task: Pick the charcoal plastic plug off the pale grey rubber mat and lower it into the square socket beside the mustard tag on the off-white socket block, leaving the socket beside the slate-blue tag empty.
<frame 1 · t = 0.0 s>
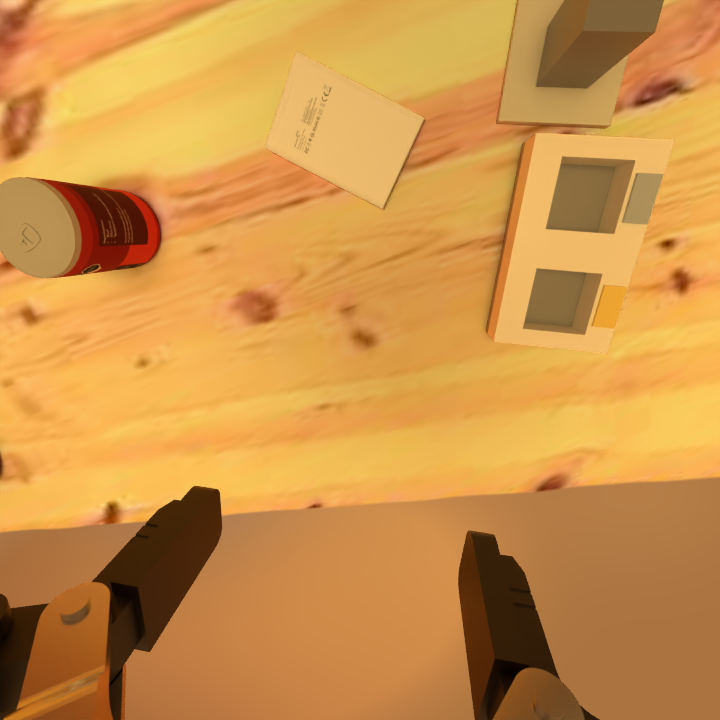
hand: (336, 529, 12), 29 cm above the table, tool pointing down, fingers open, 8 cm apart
external hard drive: (344, 137, 35), on the table
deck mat: (563, 62, 30), on the table
canned food: (130, 230, 40), on the table
plug: (567, 57, 29), point 1 cm above the table, touching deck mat
socket block: (557, 249, 35), on the table
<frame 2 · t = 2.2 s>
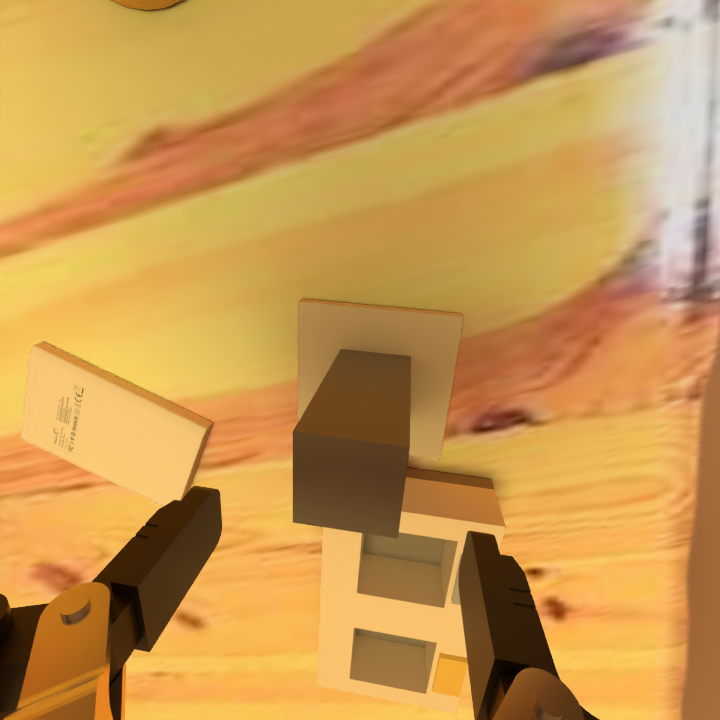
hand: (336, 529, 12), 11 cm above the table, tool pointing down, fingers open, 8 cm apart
external hard drive: (125, 423, 27), on the table
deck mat: (374, 379, 22), on the table
plug: (372, 384, 21), point 1 cm above the table, touching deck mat
socket block: (399, 564, 27), on the table
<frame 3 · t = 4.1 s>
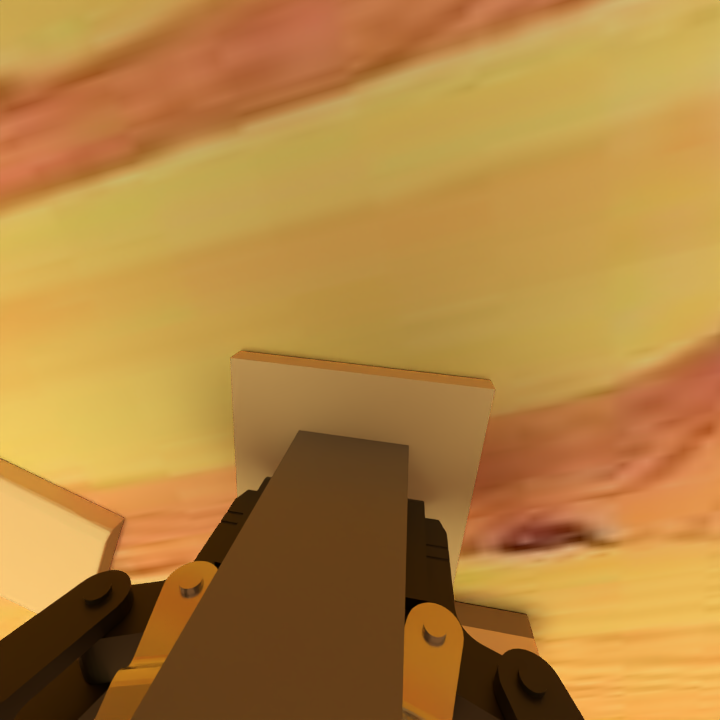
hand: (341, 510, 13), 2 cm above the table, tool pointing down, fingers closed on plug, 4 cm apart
external hard drive: (12, 508, 19), on the table
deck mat: (352, 470, 15), on the table
plug: (349, 483, 14), point 1 cm above the table, touching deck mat, gripper
socket block: (391, 711, 19), on the table
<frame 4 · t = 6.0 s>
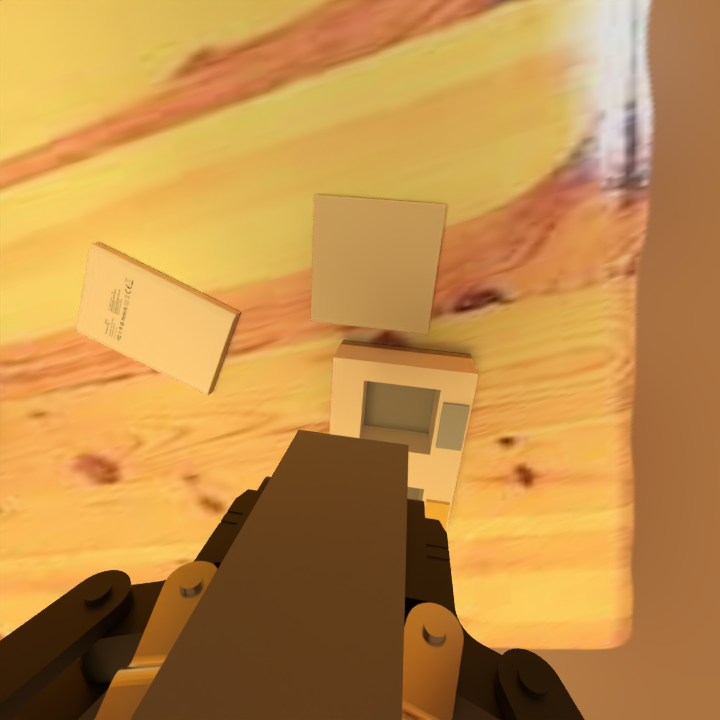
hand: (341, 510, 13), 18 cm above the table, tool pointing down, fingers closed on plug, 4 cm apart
external hard drive: (164, 319, 32), on the table
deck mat: (374, 266, 27), on the table
plug: (349, 483, 14), point 17 cm above the table, touching gripper
socket block: (394, 438, 32), on the table
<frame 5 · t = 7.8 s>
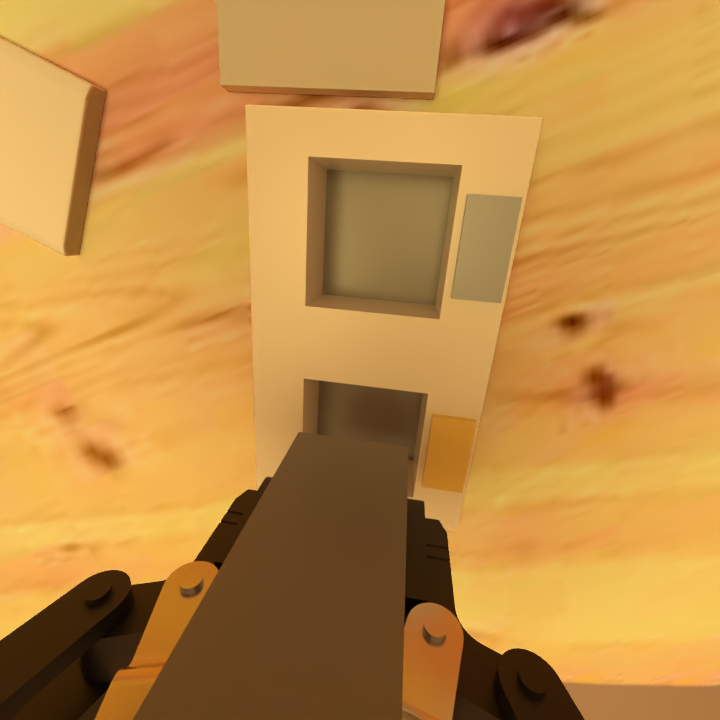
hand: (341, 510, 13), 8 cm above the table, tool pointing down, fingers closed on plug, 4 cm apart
plug: (349, 485, 14), point 7 cm above the table, touching gripper
socket block: (376, 326, 19), on the table
when the fingers open (4 cm above the table, at t = 9.3 s): plug drops 2 cm, resting on socket block.
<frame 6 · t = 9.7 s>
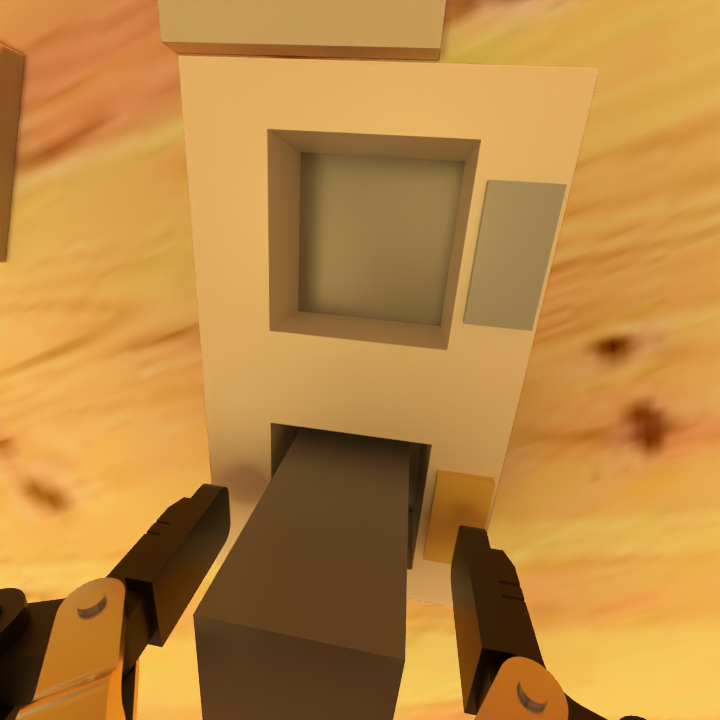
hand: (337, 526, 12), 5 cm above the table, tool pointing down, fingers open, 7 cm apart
plug: (357, 452, 16), point 1 cm above the table, touching socket block
socket block: (367, 350, 15), on the table
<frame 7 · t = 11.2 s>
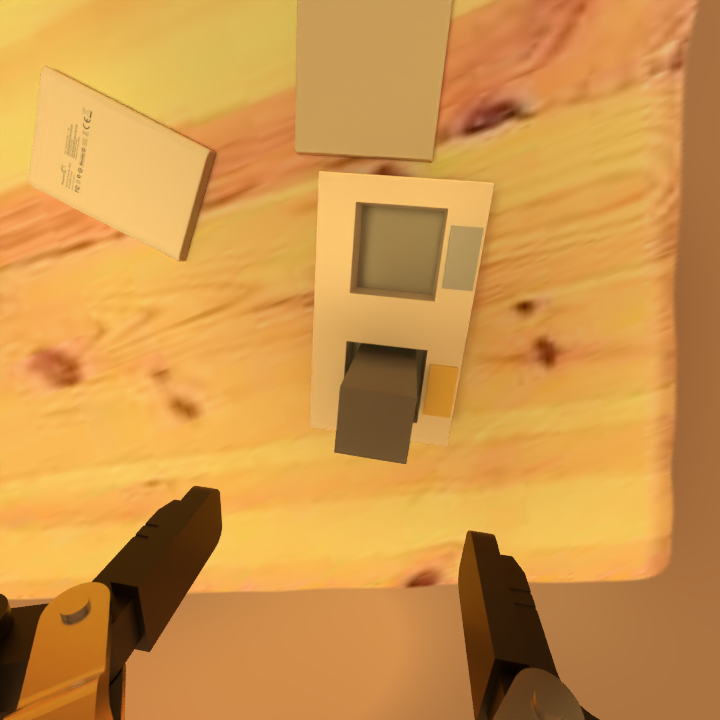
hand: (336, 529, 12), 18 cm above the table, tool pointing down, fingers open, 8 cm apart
external hard drive: (131, 172, 28), on the table
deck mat: (369, 77, 23), on the table
plug: (386, 368, 28), point 1 cm above the table, touching socket block
socket block: (392, 310, 28), on the table
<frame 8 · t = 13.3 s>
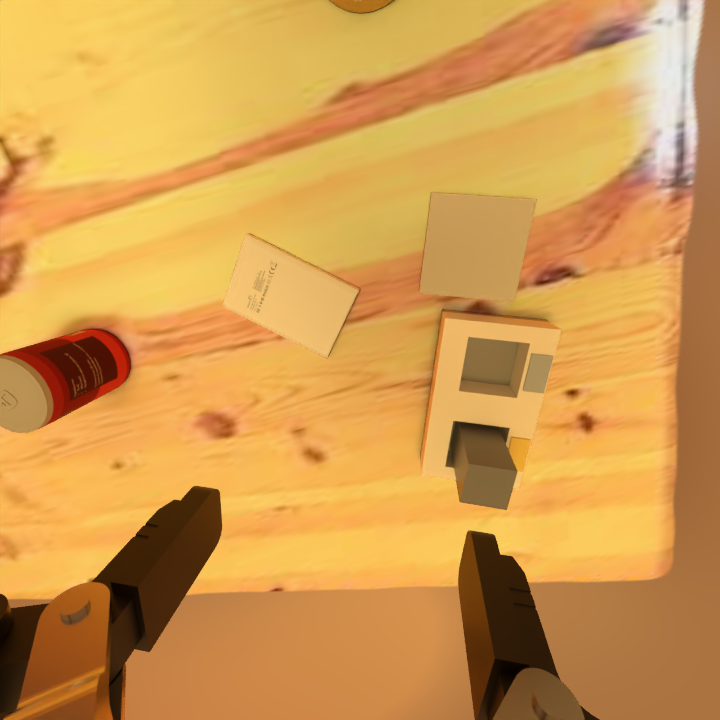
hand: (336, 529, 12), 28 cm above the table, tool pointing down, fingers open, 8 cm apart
external hard drive: (292, 296, 39), on the table
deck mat: (473, 248, 35), on the table
canned food: (104, 358, 44), on the table
plug: (472, 432, 40), point 1 cm above the table, touching socket block
socket block: (477, 392, 39), on the table
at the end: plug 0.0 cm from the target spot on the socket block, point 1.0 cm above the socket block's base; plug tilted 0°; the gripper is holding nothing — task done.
